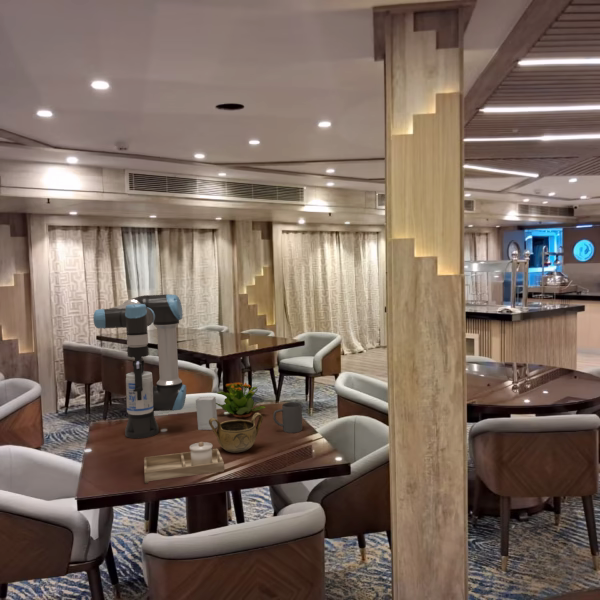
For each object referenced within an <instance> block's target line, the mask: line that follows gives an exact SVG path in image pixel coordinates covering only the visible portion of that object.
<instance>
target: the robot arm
mask: <svg viewBox="0 0 600 600" xmlns="http://www.w3.org/2000/svg"><path fill="white" fill-rule="evenodd" d="M182 306H183V305H182V303H181V299H180V297H179V296H178V295H177V294H169V293H167V294H154V295H153V294H148V295H147V294H145V295H140V296H139V295H138V296H136V297H133V298H130V299H127V300H125V301H124V302H123V304H120V305H116V306H113V307H110V308H100V309H96V310H95V311H94V312H93V324H94V327H95V328H97V329H104V330H106V329H120V328H122V329H124V328H125V329H126V337H125V338H124V340H125V341H126V346H128V347H126V348H127V349H126V351H127V354H126V355H127V357H128V358H130V359H131V358H134V360H133V361H132V367H133V372H134V374H135V390H133V392H135V396H136V409H144V400H143V388H142V373H143V371H145V360H144V359H143V358H144V357H147V356H149V354H150V353H149V346H148V344H149V333H148V327H149V326H151V325H152V324H153V326H154V327H155V328H156V335H157V337H156V338H157V352H158V355H157V356H158V368H159V369H158V370H159V371H158V372H159V374H158V375H159V380H158V381H157V382H156V385H153V411H152V412H150V413H148V414H143V415H131V414H129V413H127V414H128V415H127V417H128V419H127V421H126V422H127V423H126V427H125V429H124V435H125V436H124V437H126V438H130V439H142V438H143V439H144V438H145V439H146V438H150V437H153V436H156V435H158V434H159V432H160V430H159V429H160V427H159V424H158V422H157V420H156V417H155V412H167V411H168V412H170V411H172V412H174V411H181V410H183V408H184V407H185V403H186V398H187V397H186V396H187V385H186V384H184V383H183V380H182V379H181V378H180V377H179V362H178V361H179V359H178V339H177V338H178V337H177V326H178V325H180V321H181V320H182V319H183V307H182Z"/></svg>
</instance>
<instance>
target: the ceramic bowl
mask: <svg viewBox="0 0 600 600" xmlns="http://www.w3.org/2000/svg"><path fill="white" fill-rule="evenodd" d="M257 417H258V418H257ZM256 419H258V420H257V423H256ZM214 420H215V421H216V422H217V425H218V427H217V428H214V427H213V425H212V421H214ZM263 420H264V416H263V415H262V413H260V412H259V411H258V412H257V411H256V412H255V413H254V414H253V415H252V417H251V420H247V419H230V420H225V421H222V422H220V421H219V420H218V418H217V419H215V418H210V420H209V424H210V426H211V428H212V430H211V431H213V433H214V435H215V436H216V439H217V442H218V444H219V446H220V447H221V448H222V449H223V450H225V451H226V452H228V453H233V454H235V453H237V454H239V453H242V452H247V451H248V450H249V449H251V448H252V447H253V445H255V443H256V439H257V436H258V434H259V431H260V428H261V426H262V422H263Z"/></svg>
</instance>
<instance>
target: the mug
mask: <svg viewBox="0 0 600 600" xmlns="http://www.w3.org/2000/svg"><path fill="white" fill-rule="evenodd" d="M302 407H303V406H302V403H300V402H295V401H294V402H293V401H292V402H291V401H290V402H285V403H283V404H282V406H281V409H280V408H279V409H276V410H274V412H273V415H272V417H273V418H272V419H273V421H274V423H275V424H276V425H277V426H280V427H282V430H283V432H284V433H289V434H290V433H291V434H296V433H300V432H301V431H303V408H302ZM277 413H282V414H281V415H282V416H281V418H282V423H281V422H279V421H278V420H277V417H276V416H277Z"/></svg>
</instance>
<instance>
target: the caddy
mask: <svg viewBox="0 0 600 600" xmlns="http://www.w3.org/2000/svg"><path fill="white" fill-rule="evenodd" d="M143 462H144V463H143V465H144V466H143V467H144V470H143V471H144V484H145V485H146V484H149V482H152V481H161V480H167V479H175V478H183V477H191V476H198V475H206V474H216V473H221V472H225V463H224V459H223V457H222V455H221V453H220V451H219V448H212V463H211V464H204V465H196V466H191V451H186V452H185V451H184V452H179V453H170V454H160V455H152V456H145V457H143Z"/></svg>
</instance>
